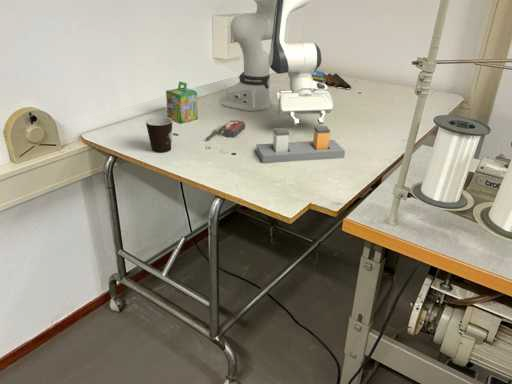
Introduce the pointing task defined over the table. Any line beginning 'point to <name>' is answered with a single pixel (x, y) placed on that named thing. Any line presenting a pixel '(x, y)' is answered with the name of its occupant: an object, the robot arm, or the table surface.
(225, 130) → the walkie-talkie
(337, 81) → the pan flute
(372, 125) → the table surface
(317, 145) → the orange plug
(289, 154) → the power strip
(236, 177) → the table surface
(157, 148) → the coffee mug
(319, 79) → the label tape box
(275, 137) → the white plug
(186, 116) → the chalk box
